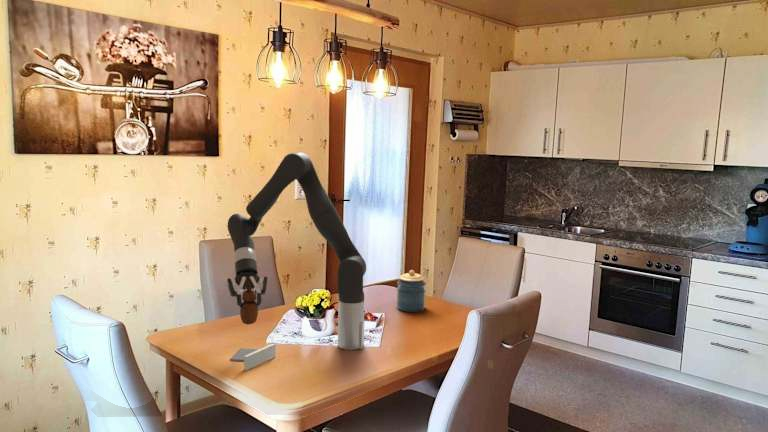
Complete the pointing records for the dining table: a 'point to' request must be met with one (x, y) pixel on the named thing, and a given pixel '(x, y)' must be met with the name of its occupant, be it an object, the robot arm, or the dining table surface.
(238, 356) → the slate coaster
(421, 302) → the canister
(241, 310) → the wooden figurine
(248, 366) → the frosted wall
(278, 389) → the dining table surface
